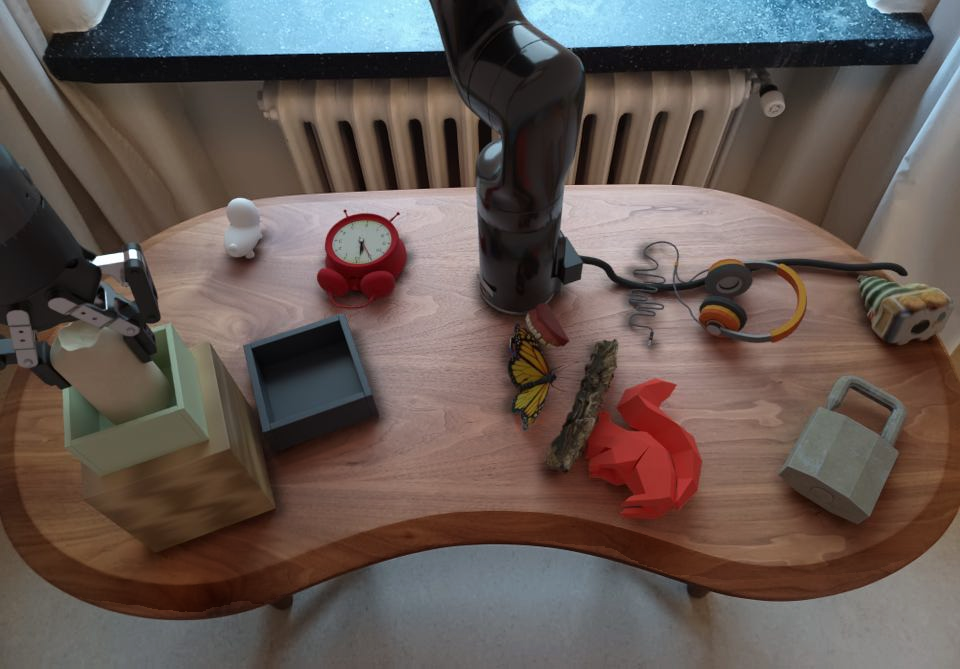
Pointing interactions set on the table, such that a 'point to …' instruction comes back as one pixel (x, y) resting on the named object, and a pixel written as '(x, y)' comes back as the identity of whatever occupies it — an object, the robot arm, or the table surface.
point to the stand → (192, 472)
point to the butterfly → (529, 377)
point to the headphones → (723, 312)
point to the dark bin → (308, 382)
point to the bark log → (584, 408)
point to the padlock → (845, 454)
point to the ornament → (904, 309)
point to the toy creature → (242, 228)
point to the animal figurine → (646, 453)
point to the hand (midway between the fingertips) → (108, 365)
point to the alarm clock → (362, 257)
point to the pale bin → (147, 435)
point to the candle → (109, 372)
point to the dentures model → (543, 329)
